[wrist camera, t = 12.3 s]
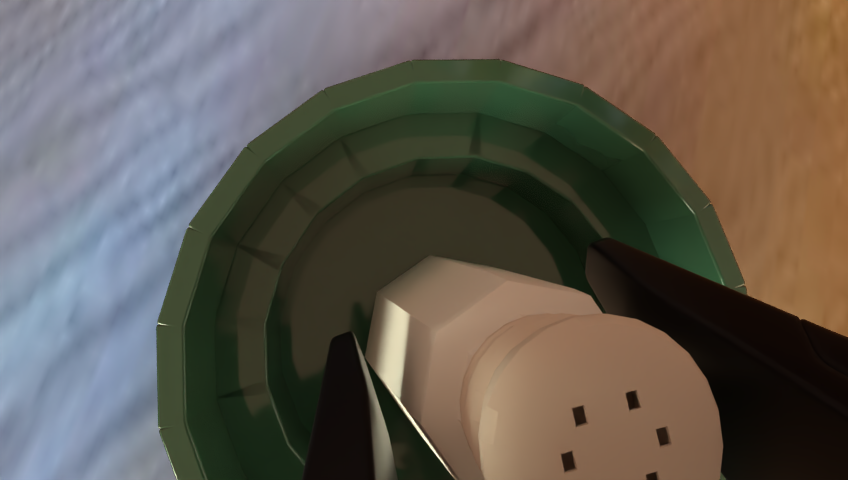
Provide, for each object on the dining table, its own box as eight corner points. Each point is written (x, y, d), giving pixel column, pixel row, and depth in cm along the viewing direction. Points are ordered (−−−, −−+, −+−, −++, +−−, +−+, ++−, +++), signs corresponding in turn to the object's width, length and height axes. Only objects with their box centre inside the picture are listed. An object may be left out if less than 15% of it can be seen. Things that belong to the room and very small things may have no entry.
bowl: (716, 354, 18) (859, 383, 13) (413, 648, 16) (436, 825, 11) (468, 47, 18) (509, -49, 13) (129, 302, 16) (14, 312, 10)
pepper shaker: (506, 238, 17) (775, 154, 6) (543, 398, 16) (903, 631, 5) (347, 272, 16) (308, 252, 5) (382, 441, 16) (424, 809, 5)
